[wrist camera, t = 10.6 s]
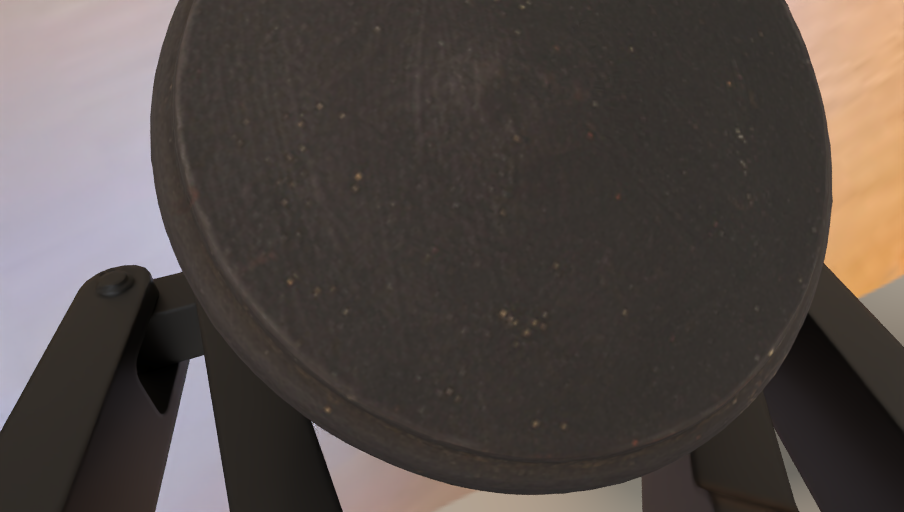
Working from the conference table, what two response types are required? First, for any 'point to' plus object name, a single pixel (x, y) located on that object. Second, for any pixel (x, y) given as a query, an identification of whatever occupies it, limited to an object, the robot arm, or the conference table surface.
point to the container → (499, 220)
